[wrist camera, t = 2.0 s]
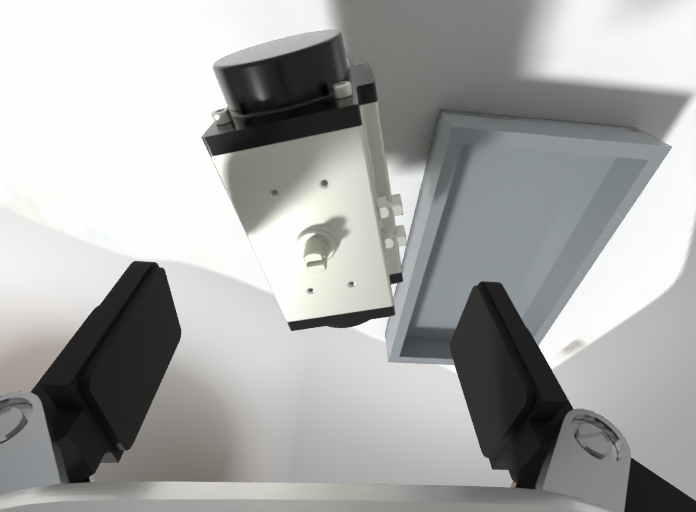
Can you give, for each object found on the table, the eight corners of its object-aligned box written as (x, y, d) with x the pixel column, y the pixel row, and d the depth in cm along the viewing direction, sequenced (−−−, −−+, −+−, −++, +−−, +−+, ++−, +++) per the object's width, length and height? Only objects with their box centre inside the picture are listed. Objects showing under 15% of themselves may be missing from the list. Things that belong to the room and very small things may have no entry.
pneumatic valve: (313, 223, 25) (297, 371, 16) (253, 32, 18) (159, 96, 9) (391, 209, 25) (422, 354, 15) (361, 6, 17) (386, 43, 8)
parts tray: (439, 109, 20) (452, 126, 18) (635, 128, 21) (672, 146, 19) (384, 334, 33) (388, 362, 30) (510, 340, 34) (523, 367, 31)
